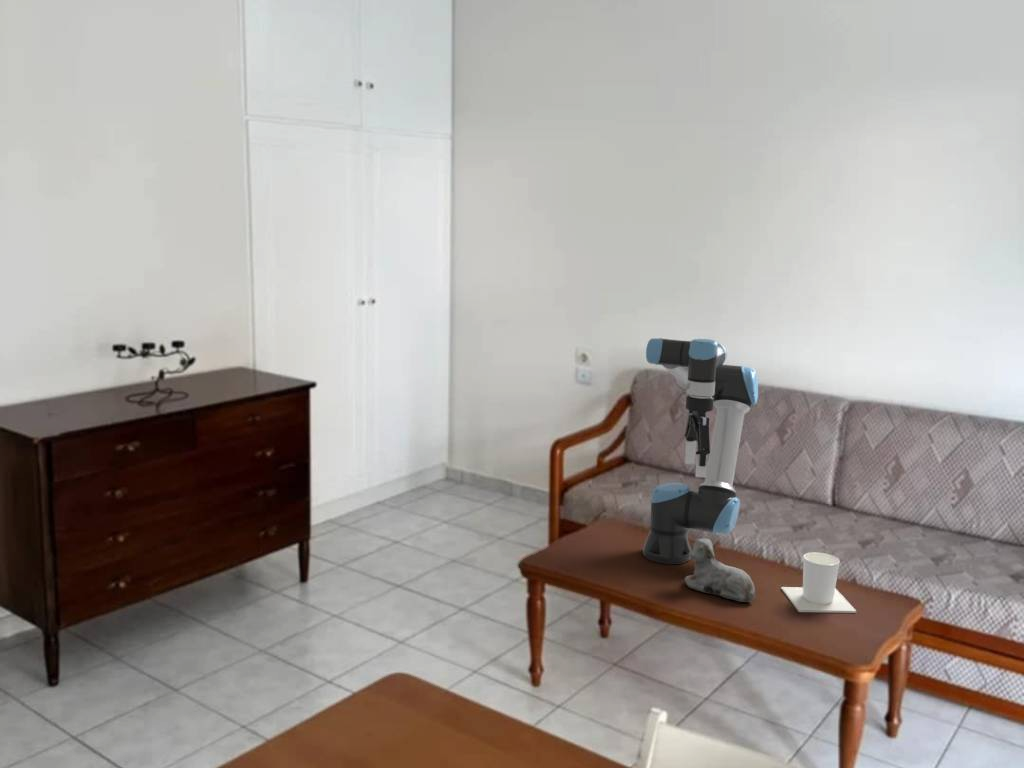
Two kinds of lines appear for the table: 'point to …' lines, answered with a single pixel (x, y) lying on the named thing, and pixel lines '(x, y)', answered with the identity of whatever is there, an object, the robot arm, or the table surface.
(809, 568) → the candle holder
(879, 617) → the table surface
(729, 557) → the table surface
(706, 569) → the sculpture
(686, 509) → the robot arm
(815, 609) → the tile
